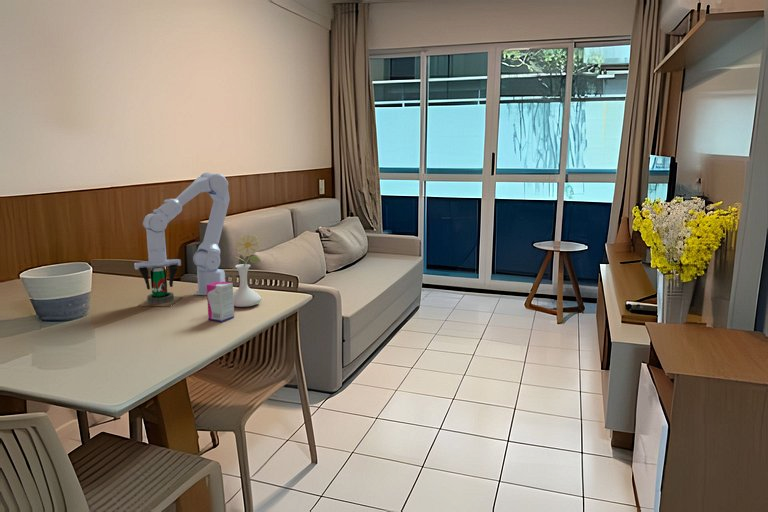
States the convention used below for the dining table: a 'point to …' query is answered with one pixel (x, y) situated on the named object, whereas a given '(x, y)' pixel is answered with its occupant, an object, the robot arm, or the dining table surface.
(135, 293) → the dining table surface
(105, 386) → the dining table surface
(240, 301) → the flower in vase
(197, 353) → the dining table surface
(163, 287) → the soda can
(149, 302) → the can socket
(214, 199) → the robot arm
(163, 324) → the dining table surface
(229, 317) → the supplement box
